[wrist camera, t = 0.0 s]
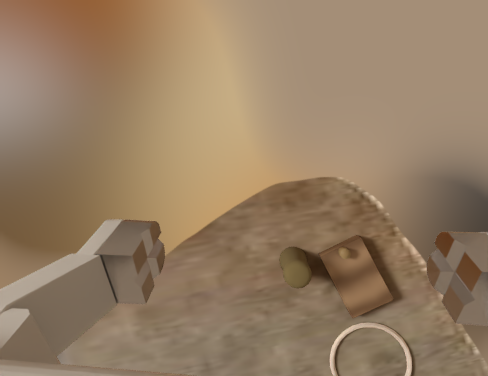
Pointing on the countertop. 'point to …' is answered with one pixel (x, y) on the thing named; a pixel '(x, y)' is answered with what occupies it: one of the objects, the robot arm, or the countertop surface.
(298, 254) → the cork
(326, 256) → the plane block
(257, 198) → the countertop surface
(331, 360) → the hand towel holder
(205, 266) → the countertop surface
